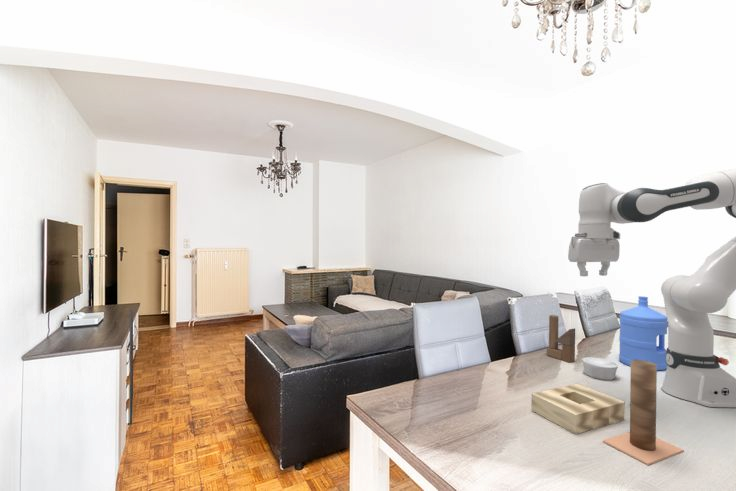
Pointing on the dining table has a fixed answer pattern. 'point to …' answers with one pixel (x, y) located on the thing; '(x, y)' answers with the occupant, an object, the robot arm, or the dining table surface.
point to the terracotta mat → (641, 455)
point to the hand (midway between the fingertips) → (593, 275)
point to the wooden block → (566, 340)
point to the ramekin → (599, 368)
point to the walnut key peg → (643, 404)
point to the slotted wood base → (578, 407)
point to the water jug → (643, 335)
